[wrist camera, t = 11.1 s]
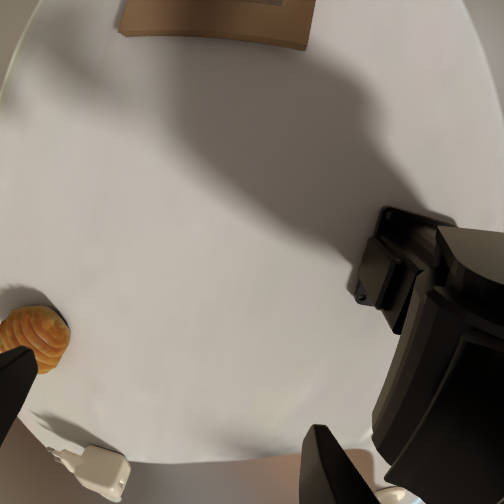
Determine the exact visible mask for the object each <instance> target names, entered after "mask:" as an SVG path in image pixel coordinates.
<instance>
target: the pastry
mask: <svg viewBox="0 0 504 504" xmlns="http://www.w3.org/2000/svg"><path fill="white" fill-rule="evenodd" d="M69 341H70V330H69V327H68V326H67V325H66V324H65V323H64V322H63V320H62V319H61V317H60V316H59V315H58V314H57V313H56V312H55V311H54V310H52V309H51V308H50V307H48V306H40V305H39V306H24V307H22V308H18V309H14V310H12V312H11V314H10V315H9V316H8V318H7V319H5V320H3V321H2V322H1V324H0V352H1V353H3V352H5V351H8V350H11V349H13V348H16V347H18V346H21V345H25V346H27V347H29V348H31V349H32V350H33V351H34V354H35V357H36V361H37V364H38V373H37V374H44V373H47V372H49V371H50V370H51V369H53V368H55V367H56V366H57V365H58V363H59V361H60V359H61V357H62V355H63V353H64V352H65V350H66V348H67V346H68V344H69Z"/></svg>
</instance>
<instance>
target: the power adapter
mask: <svg viewBox="0 0 504 504" xmlns="http://www.w3.org/2000/svg"><path fill="white" fill-rule="evenodd" d="M47 451H49V452H51V453H53V454H56V455H58V456H60V458H58V457H54V460H55V461H57V462H59V463H62V464H64V465H65V466H66V467H67V469H68V470H69V471H70V472H72V473H74V476H75V477H76V478H77V480H78V481H79V482H80V483H81V484H82V485H83V486H84V487H86V488H88V489H90V490H93V491H96V492H98V493H101V494H104V495H106V496H109V497H113V498H119V497H120V496H121V494H122V492H123V490H124V487H125V485H126V482H127V479H128V477H129V474H130V465H129V463H128V461H127V459H126V458H125V457H124V456H123V455H121V454H118V453H115V452H112V451H109V450H106V449H103V448H100V447H97V446H93V445H89V446H87V447H86V449H85V450H84V452H83V454H82V456H80V455H77V454H75V453H72V452H70V451H68V450H65V449H64V450H62V451H61V452H59V451H57V450H55V449H53V448H51V447H47Z"/></svg>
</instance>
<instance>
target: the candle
mask: <svg viewBox="0 0 504 504" xmlns="http://www.w3.org/2000/svg"><path fill="white" fill-rule="evenodd" d="M405 494H406V491H405V489H404V488H402V487H392V488H387V489H383V490H380V491H377V492H374V495H375V496H376V498H377V499H378V500H379V502H380V503H381V504H399V500H400V499H402V498H403V497H404V496H405Z"/></svg>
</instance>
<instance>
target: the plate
mask: <svg viewBox="0 0 504 504" xmlns="http://www.w3.org/2000/svg"><path fill="white" fill-rule="evenodd" d="M315 1H316V0H284V1H283V6H282V7H281V6H275V5H268V4H261V3H253V2H243V1H232V0H127V4H126V7H125V10H124V13H123V16H122V20H121V23H120V26H119V30H118V32H119V33H121V34H123V35H124V36H126V37H132V36H195V37H211V38H223V39H233V40H242V41H250V42H257V43H264V44H270V45H276V46H282V47H287V48H292V49H297V50H302V51H305V50H306V47H307V44H308V39H309V33H310V28H311V23H312V17H313V12H314V7H315Z"/></svg>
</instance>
